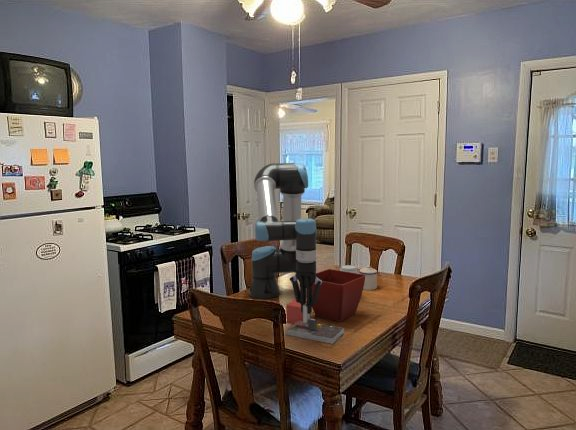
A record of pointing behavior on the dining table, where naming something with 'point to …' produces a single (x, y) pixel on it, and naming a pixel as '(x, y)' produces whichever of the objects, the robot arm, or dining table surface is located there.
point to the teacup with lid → (369, 278)
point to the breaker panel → (315, 332)
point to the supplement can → (349, 268)
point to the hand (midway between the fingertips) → (306, 321)
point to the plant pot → (338, 294)
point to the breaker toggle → (312, 324)
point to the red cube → (294, 312)
